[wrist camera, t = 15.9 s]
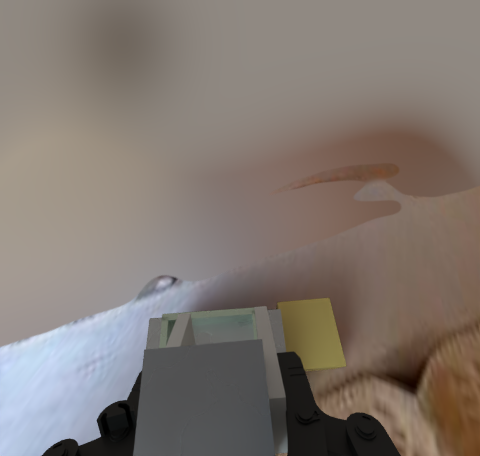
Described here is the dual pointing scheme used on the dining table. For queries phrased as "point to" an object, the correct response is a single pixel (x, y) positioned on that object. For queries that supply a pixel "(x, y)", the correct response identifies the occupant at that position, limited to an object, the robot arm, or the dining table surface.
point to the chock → (312, 333)
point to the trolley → (217, 327)
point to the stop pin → (204, 401)
